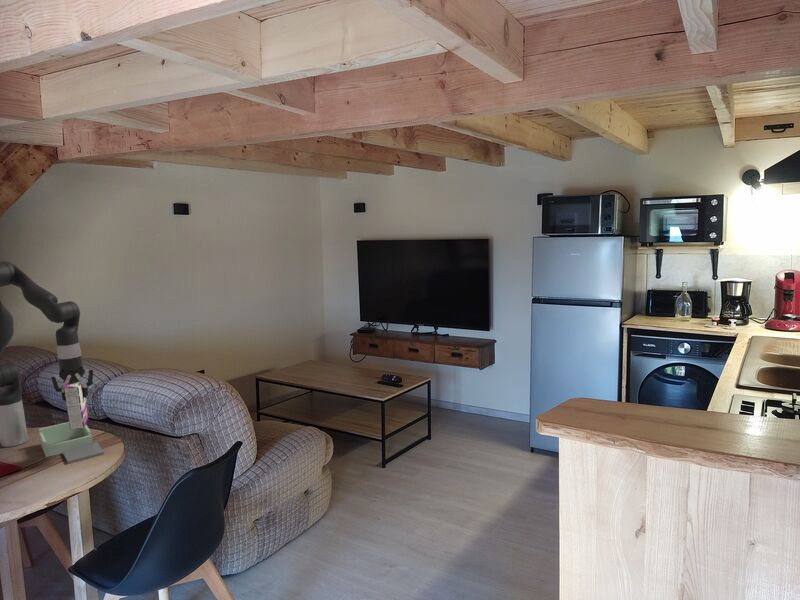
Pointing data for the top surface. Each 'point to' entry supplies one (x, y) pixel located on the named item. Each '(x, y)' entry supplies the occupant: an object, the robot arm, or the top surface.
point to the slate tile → (83, 453)
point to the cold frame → (63, 438)
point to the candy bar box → (76, 405)
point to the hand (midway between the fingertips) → (75, 399)
